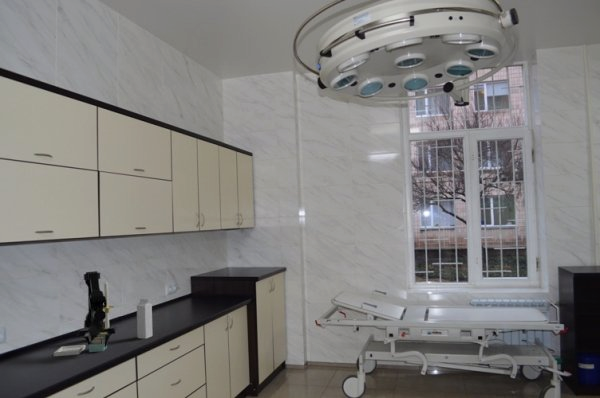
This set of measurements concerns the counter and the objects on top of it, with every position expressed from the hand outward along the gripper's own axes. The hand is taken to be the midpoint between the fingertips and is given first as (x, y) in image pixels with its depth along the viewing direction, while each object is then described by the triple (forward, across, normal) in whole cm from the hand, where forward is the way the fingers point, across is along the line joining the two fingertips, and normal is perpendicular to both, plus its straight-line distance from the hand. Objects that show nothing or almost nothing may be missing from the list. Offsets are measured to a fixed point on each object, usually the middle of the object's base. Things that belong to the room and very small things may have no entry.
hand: (98, 347), depth 244 cm
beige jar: (+1, 0, 0) cm, 1 cm away
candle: (+1, -5, +42) cm, 42 cm away
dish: (+1, -14, 0) cm, 14 cm away
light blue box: (+1, 0, 0) cm, 1 cm away
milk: (+1, +21, +20) cm, 29 cm away
